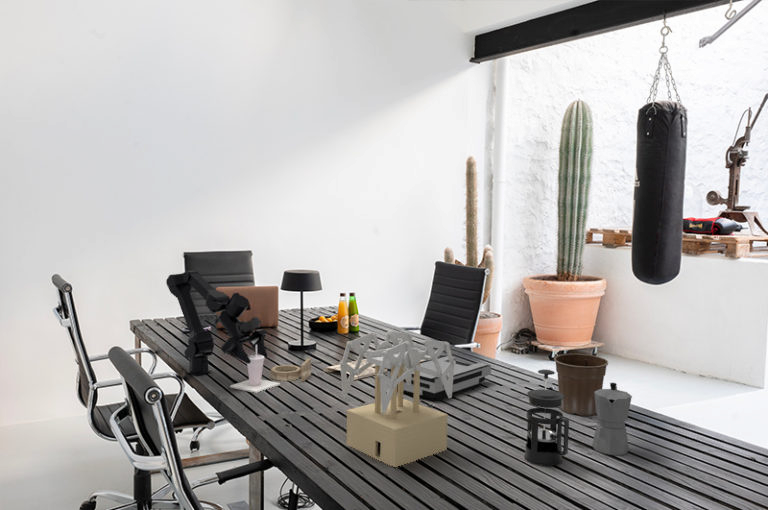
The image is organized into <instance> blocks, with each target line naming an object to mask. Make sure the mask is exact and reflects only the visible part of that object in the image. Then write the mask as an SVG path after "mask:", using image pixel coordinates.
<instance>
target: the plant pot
mask: <svg viewBox="0 0 768 510" xmlns="http://www.w3.org/2000/svg"><path fill="white" fill-rule="evenodd" d="M553 360H554V362H555V370H556V373H557V383H558V387H557V389H558V392H559V393H561V394H563V395H564V398H563V399H562V405H561V406H559V407H558V408H559V409H560V410H561V411H563V412H564V413H566V414H570V415H574V414H576V415H578V416H588V417H589V416H594V415H597V413H596V404H595V395H594V392H595V391H597V390H599V389H603V388H604V387H603V385H604V378H605V376H606V372H607V366H608V365H609V360H607V359H606V358H604V357H601V356H597V355H591V354H586V353H585V354H583V353H563V354H562V353H561V354H558V355H556V356H554V358H553Z"/></svg>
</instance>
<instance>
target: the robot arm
mask: <svg viewBox="0 0 768 510" xmlns="http://www.w3.org/2000/svg"><path fill="white" fill-rule="evenodd" d="M166 286H167V288H168V290H169V292H170V294H172V295H173V296H174V297H175V299H177V300H178V304H179V306H180V309H181V312H182V314H183V318H184V321H185V323H186V324H185V325H186V326H187V329H188V332H189V336H188V338H187V339H188V341H187V343H188V346H187V347H186V349H185V350H184V351H183V352H184V356H185V358H187V359H189V370H188V371H186V374H189V375H195V376H201V375H205V374H208V373H212V370H210V369H209V359H208V358H209V357H208V356H212V355H213V352H214V347H215V342H214V341H215V339H214V338H213V335H212V332H211V330H210V329H209V330H208V329H205V328H204V327H203V325H202V321H201V319H200V316H199V313H198V310H197V308H196V305H195V303H194V300H193V297H192V294H191V292H192V288H193V289H194V290H195V291H196V292H197V293H198V294H199V296H201V298H203V299H204V301H205V306H206V307H207V309H209V311H210V312H211V313H220V314H217V315H216V316H215V324H216V325H217V324H219V323H220V324H221V325H222V327H223V328H224V329H225V331H226V333H225V335H226V336H230V337H228V338H227V339H226V340H225V341H224V343H223V344H221V347H220V348H221V350H220V351H222V353H223V354H224V355H226V354H227V355H228V356H231V357H234V358H236V359H238V360H240V361H242V362H244V363H246V364H247V363H248V364H250V363H251V361H250V359H249V357H248V356H249V355H248V354H247V352H246V351H245V349H244V348H243V347H244V344H247V343H248V344H249V345H251V348H252V349H253V350H254V351H256V345H257V354H258V355H262V356H264V359H267V358H268V353H267V350H266V346H265V342H264V341H265V339H266V337H267V334H268V333H267V332H266V330H265V329H263V328H262V329H259V328H260V327H261V325H262V321H261V319H259V317H257V316H254V317H252V318H251V319H250V320H247V321H246V322H245V321H244V320H243V321H241V320H240V319H239V318H240V317H241V316H242V315H243V314H244V312H245V311H246V310H247V308H248V307H249V305H250V302H249V299H248V298H246V297H245V296H243V295H242V294H240V293H239V292H235V293H232V295H231V297H230V296H229V295H228V294H226V293H225V292H223V291H219V290H217V289H215V288H214V287H213V286H212V285H211V284H210V283H209V282H208V281H207V280H206V279H205V278H204V277H203V276H202V275H201V274H200V272H199V271H198V270H187V271H185V272H182V273H173V274H169V275H168V277H167V279H166ZM254 330H255V331H254Z"/></svg>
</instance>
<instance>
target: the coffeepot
mask: <svg viewBox="0 0 768 510" xmlns="http://www.w3.org/2000/svg"><path fill="white" fill-rule="evenodd" d="M609 385H610V386H609V387H610V388H602V389H599V390H597V391H595V392H594V395H595V404H596V413H597V414H596V417H597V418H598V423H597V424H596V426H595V431H594V435H593V439H592V443H591V445H592V448H593V449H594V450H595V451H596V452H597V453H600V454H605V455H608V456H623V455H625V454H627V453H628V452H629V451H630V450H629V441H628V439H629V438H628V432H627V427H626V425H625V424H626V421H627V420H628V417H629V412H630V406H631V402H632V397H633V395H631V394H630V393H628V392H627V391H625V390H620V389H618V387H617V383H616V382H610V383H609Z"/></svg>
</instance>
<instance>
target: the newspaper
mask: <svg viewBox="0 0 768 510" xmlns="http://www.w3.org/2000/svg"><path fill="white" fill-rule="evenodd" d="M422 361H425V359H424V360H420V362H422ZM346 363H347V364H348V365H350V366H351V367H352V368H353V369H354V368H355V365H356V363H357V360H355V361H350V362H346ZM366 363H368V362H366V358H364V359H362V361H361V364H360V367H359V368H361V367H362V366H364V365H365V364H366ZM336 371H337V372H338V371H340V372H341V368H340V363H338V364H337V365H336V364H335V365H331V366H326V367H324V368H323V372H327V373H333V372H336ZM346 374H348V375H350V373H348V372H346ZM383 374H387V368H384V372H383ZM373 376H374V377H375V364H373V365H371V366H370V367H368V368H367V369H366V370H364V371H363V372H362V373H360V375H358V376H356V375H355V376H354V379H353V381H358V380H361V379H366V378H370V377H373ZM353 381H352V382H353Z"/></svg>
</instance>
